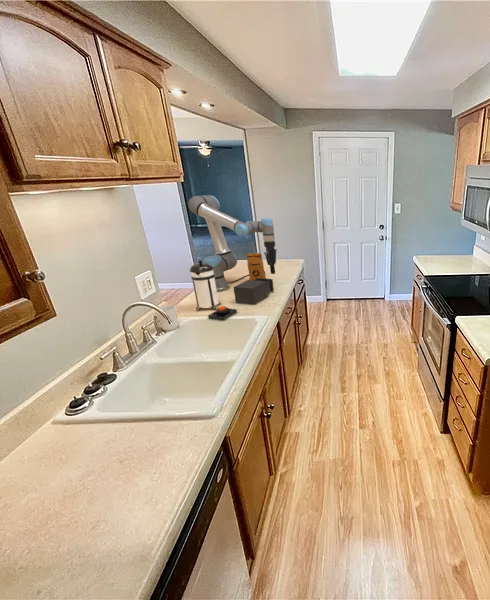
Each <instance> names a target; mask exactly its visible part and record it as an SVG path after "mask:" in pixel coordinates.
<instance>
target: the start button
mask: <svg viewBox="0 0 490 600" xmlns="http://www.w3.org/2000/svg"><path fill="white" fill-rule="evenodd" d="M226 307H227V306H226V305H219V306H218V307H217V309H218V311H223V310H226Z"/></svg>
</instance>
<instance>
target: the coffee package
mask: <svg viewBox="0 0 490 600" xmlns="http://www.w3.org/2000/svg"><path fill="white" fill-rule="evenodd" d="M246 261H247V271H248V275H249V279H248V280H255V279H256V278H265V279H267V277H266V276H267V275H266V272H265V267H264V261H263V256H262V253H260V252H257V253H256V252H255V253H253V252H252V253H246Z"/></svg>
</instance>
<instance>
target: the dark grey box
mask: <svg viewBox="0 0 490 600" xmlns="http://www.w3.org/2000/svg"><path fill="white" fill-rule="evenodd" d="M233 293H234V299H235V303H236V304H243V305H251V306H253V305H254V306H255V305H257V304H259V303H261V302H262V301H263V300H265V299H267V298H268V297H269V293H268V292H267V283H266V281H255V280H249V279H247V280H245V281H243V282H240V283H239V284H236V285H235V286H233Z"/></svg>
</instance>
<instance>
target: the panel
mask: <svg viewBox="0 0 490 600" xmlns="http://www.w3.org/2000/svg"><path fill="white" fill-rule="evenodd" d="M225 307H226V310H223V311H218V308H216V310H214V311H212V312H211V313H210V314H207V317H208V319H209V320H217V321H225V320H227V319H229V318H231V317H232V316H234V315H235V314H237V313H238V310H237V309H236V308H229V307H227V306H225Z"/></svg>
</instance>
